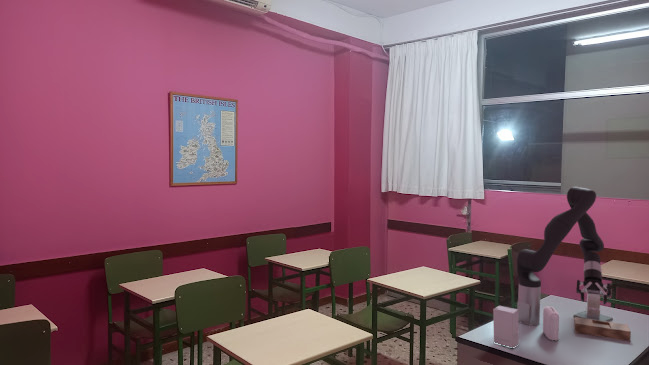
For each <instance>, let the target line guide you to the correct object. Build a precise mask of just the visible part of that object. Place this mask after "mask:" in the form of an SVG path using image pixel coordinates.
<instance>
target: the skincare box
mask: <svg viewBox="0 0 649 365" xmlns="http://www.w3.org/2000/svg"><path fill="white" fill-rule="evenodd" d="M492 312H493V316H492V317H493V319H492V321H493V343H494V342H495V343H498V344H501V345H505V346H509V347H512V348H513V347H515V346H517V345H518V344H519V345H520V332H519V330H520V329H519V328H520V327H519V323H520V322H518V309H517V308H512V307H509V306H502V305H498V306H496V307H495V308H493V309H492ZM519 345H518V346H519ZM518 346H517V347H518Z"/></svg>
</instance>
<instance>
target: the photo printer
mask: <svg viewBox="0 0 649 365" xmlns="http://www.w3.org/2000/svg"><path fill="white" fill-rule="evenodd" d="M542 311H543V312H542V313H543V314H542V315H543V316H542V318H543V319H542V333H543V334H544V335H545V337H547V339H548V340H550V341H553V340H555V341H558V340H559V335H560V333H559V331H560V315H559V313H558V311H557V310H556V309H555V307H553V306H552V305H551V306H550V305H549V306H548V305H546V306H544V308H543V310H542Z"/></svg>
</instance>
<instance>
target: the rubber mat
mask: <svg viewBox="0 0 649 365" xmlns="http://www.w3.org/2000/svg"><path fill="white" fill-rule="evenodd" d="M572 317H573V318H574V317H578V318H585V319H592V320H599V321H606V322H612V321H613V320H614V319H613V318H614V317H612V316H608V315H605V314H601V313H600V319H596V318H589V317H587V314H586V310H583V311H580V312H578V313H575V314H573V316H572Z"/></svg>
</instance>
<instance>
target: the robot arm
mask: <svg viewBox="0 0 649 365" xmlns="http://www.w3.org/2000/svg"><path fill="white" fill-rule="evenodd" d="M596 199H597V193H596V191H594V189H589V188H587V187H580V186H571V187H570V188H569V189H568V191H567V194H566V200H567V204H568V206H569V207H570V208H569V209H568V210H565V211H563V212H561V213H559V214H557V215H555V216H554V217H553V218H552V219H550V221H549V222H548V223H547V224H546V226H545V228H544V231H543V243H542V244H541V246H540V248H538V249H537V250H532V249H527V248H524V249H521V250H520V251H519V252H518V253H517V258H516V272H517V273H516V275H517V279H518V294H517V295H518V297H517V298H518V299H517V302H516V304H517V305H516V309H518V322H519V323H521V324H525V325H527V326H535V325H536V326H537V325H539V324H540V322H541V320H540V319H541V292H542V290H541V289H542V288H541V286H542V281H541V279H540V278H539V277H538V276H537V275H536V274H535V273H540V272H541V271H542V270H543V269H544V268H545V267H546V265H548V262H549V261H550V259H551V258H552V256H553V255H554V253H555V251H556V250H557V248H558V247H559V246H560V244H561V243H562V242H563V241H564V239H565V238H566V237H567V236H568V234H569V233H570V231H571V230H572V229H573V228H574V226H575V225H576V224H578V229H579V232H580V236H581V237H582V238H581V239H580V240H579V247H580V250H581V252H582V255H583V259H584V260H583V262H584V263H583V281H580V280H579V279H577V281H576V287H575V288H576V289H575V290H576V291H575V292H576V293H577V294H579V295H580V300H581V301H582V303H583V302H585V293H587V292H588V290H596V291H600V296H602V304H603V305H606V304H607V303H608V298H611V297H612V287H611V283H603V274H602V271H603V270H602V265H601V256H600V254H598V253H600V252H602V251H603V250H604V247H605V245H604V244H605V243H604V242H603V239H602V237H600V235H599V234H598V231H597V228H596V224H595V222H594V220H593V218H592V217H591V215H589V213H588V211H589V210H590V208H592V207H593V205H594V204H595V202H596ZM534 272H535V273H534ZM582 285H583V286H584V287H582V289H580V287H581V286H582ZM603 288H605V290H606V291H605V290H604V289H603Z"/></svg>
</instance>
